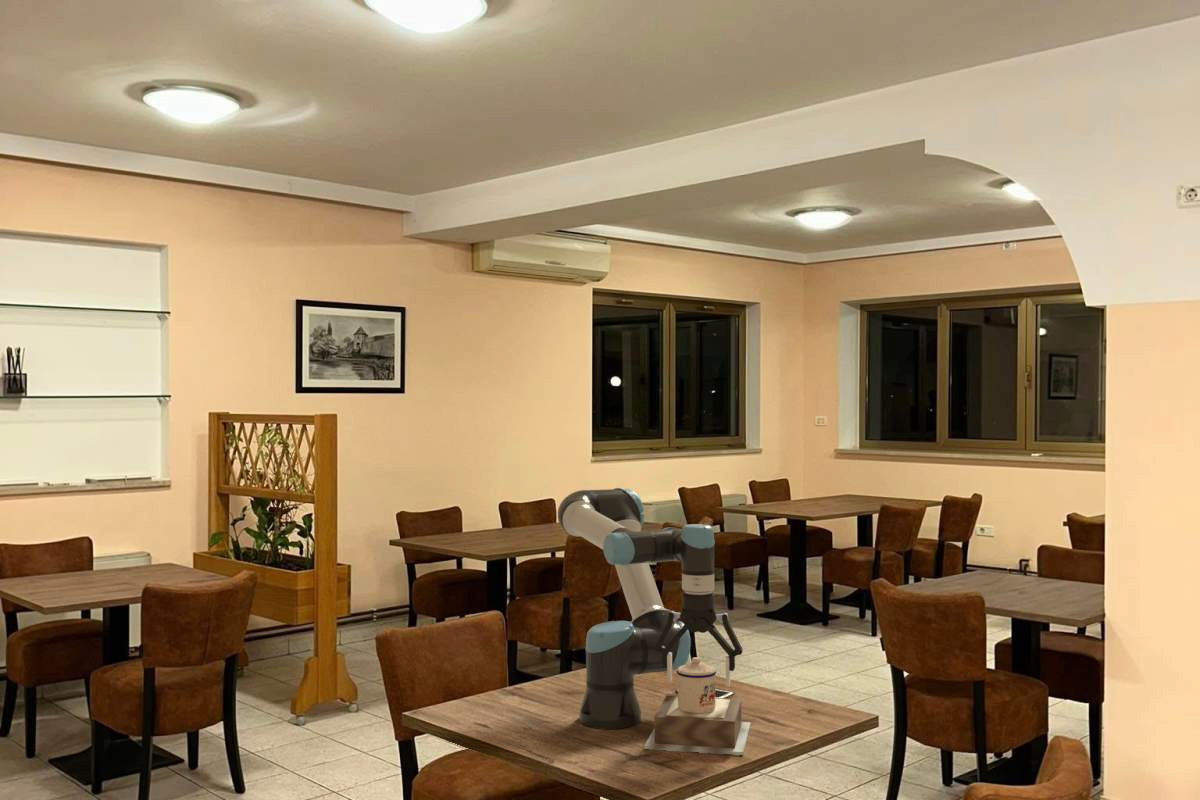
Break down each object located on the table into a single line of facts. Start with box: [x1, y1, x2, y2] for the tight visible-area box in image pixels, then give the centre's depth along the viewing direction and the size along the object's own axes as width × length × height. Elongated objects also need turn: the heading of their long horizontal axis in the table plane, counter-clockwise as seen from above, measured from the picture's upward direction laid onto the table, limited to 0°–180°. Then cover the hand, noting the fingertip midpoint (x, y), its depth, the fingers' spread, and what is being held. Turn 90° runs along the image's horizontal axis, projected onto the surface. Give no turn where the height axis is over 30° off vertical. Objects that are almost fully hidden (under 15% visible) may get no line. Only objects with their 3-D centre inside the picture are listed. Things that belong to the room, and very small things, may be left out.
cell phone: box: [674, 688, 736, 699], centre depth 280 cm, size 8×15×1 cm, turn 54°
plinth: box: [643, 694, 752, 756], centre depth 244 cm, size 22×22×7 cm
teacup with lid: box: [676, 656, 717, 713], centre depth 244 cm, size 12×9×12 cm
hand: (698, 683), depth 244 cm, fingers open, 13 cm apart
